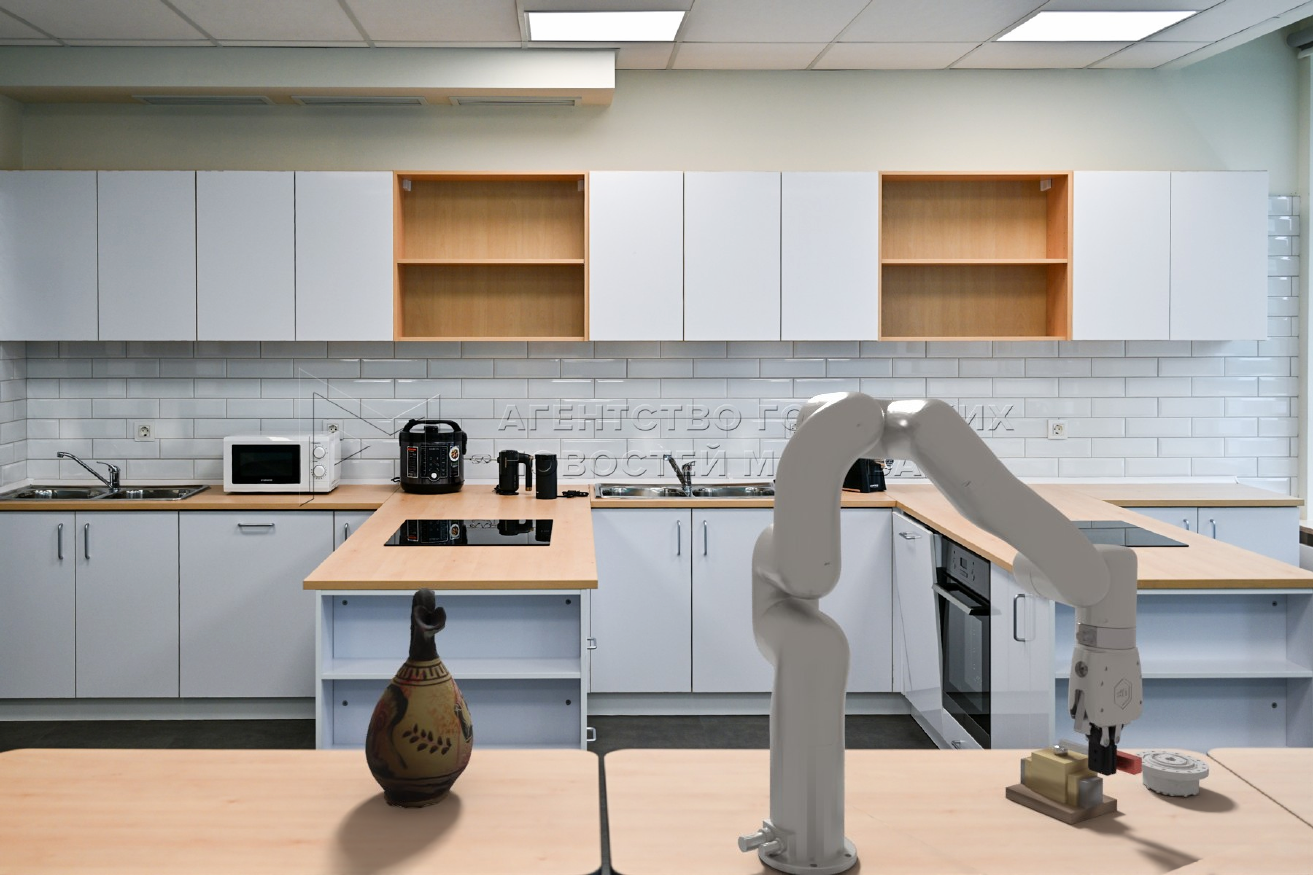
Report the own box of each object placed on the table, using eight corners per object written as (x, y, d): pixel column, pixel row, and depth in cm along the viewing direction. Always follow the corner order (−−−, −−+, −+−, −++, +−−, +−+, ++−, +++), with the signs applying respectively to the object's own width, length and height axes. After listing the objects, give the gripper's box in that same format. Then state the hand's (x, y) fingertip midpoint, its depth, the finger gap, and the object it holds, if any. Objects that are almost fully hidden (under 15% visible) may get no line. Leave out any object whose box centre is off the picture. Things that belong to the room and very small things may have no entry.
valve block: (1070, 824, 132) (1071, 772, 132) (1005, 797, 142) (1005, 749, 142) (1117, 809, 137) (1117, 759, 137) (1050, 784, 147) (1051, 738, 147)
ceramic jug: (483, 806, 138) (482, 597, 138) (370, 823, 132) (370, 604, 132) (461, 767, 154) (461, 579, 153) (360, 780, 148) (359, 585, 148)
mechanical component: (1201, 775, 138) (1125, 760, 145) (1200, 806, 138) (1125, 789, 145) (1214, 757, 146) (1142, 743, 152) (1214, 786, 146) (1142, 771, 152)
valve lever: (1050, 752, 140) (1050, 735, 140) (1058, 749, 141) (1058, 732, 141) (1133, 778, 129) (1134, 760, 129) (1142, 775, 130) (1142, 757, 130)
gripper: (1094, 647, 124) (1091, 790, 124) (1164, 636, 131) (1161, 771, 131) (1044, 636, 130) (1041, 772, 131) (1114, 626, 138) (1111, 754, 138)
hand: (1102, 771), depth 131 cm, fingers closed
